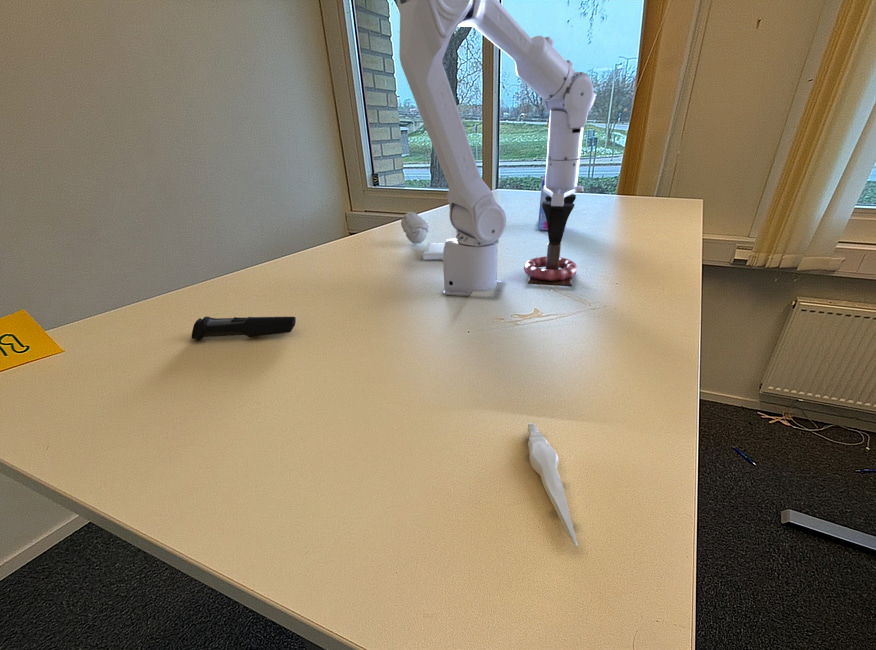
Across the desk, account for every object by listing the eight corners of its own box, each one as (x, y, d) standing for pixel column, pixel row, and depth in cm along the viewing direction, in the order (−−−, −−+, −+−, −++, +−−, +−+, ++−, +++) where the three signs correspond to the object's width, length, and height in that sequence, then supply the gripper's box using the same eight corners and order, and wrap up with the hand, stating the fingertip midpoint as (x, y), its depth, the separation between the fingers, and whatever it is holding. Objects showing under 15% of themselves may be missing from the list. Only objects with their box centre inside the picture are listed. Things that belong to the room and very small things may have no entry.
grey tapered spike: (518, 434, 46) (518, 420, 45) (542, 432, 47) (544, 418, 46) (558, 556, 34) (561, 540, 33) (591, 552, 34) (595, 536, 33)
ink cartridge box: (558, 231, 114) (564, 169, 106) (537, 230, 115) (541, 169, 107) (558, 222, 122) (564, 163, 114) (538, 221, 123) (542, 163, 115)
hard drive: (422, 253, 95) (479, 253, 94) (428, 242, 102) (481, 242, 101) (423, 260, 96) (479, 260, 95) (428, 249, 103) (481, 249, 102)
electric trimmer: (295, 340, 66) (290, 321, 64) (191, 342, 66) (183, 322, 64) (302, 329, 69) (298, 311, 67) (203, 331, 69) (196, 312, 67)
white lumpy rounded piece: (414, 238, 111) (411, 208, 107) (435, 242, 107) (433, 211, 103) (397, 243, 107) (394, 213, 103) (419, 248, 103) (416, 216, 99)
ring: (519, 279, 82) (519, 269, 81) (529, 263, 90) (529, 253, 89) (573, 284, 80) (574, 273, 78) (578, 267, 87) (580, 257, 86)
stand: (527, 286, 82) (530, 248, 78) (532, 272, 88) (534, 237, 84) (571, 289, 80) (575, 251, 76) (572, 275, 87) (577, 238, 83)
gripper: (586, 164, 69) (576, 251, 77) (587, 153, 81) (578, 230, 89) (541, 163, 71) (535, 249, 78) (548, 153, 82) (543, 228, 90)
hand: (555, 239), depth 84 cm, fingers open, 4 cm apart
